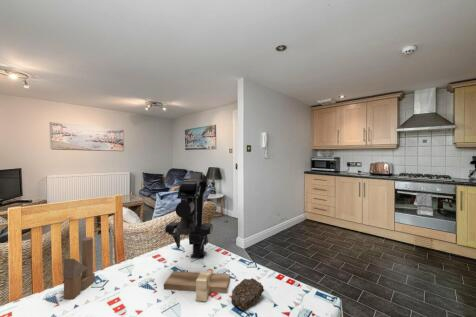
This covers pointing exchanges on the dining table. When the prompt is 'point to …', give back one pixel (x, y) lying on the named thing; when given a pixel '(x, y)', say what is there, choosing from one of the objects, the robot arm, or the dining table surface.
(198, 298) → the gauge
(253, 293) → the brown rock
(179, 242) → the robot arm
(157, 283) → the dining table surface
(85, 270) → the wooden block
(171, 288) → the board
